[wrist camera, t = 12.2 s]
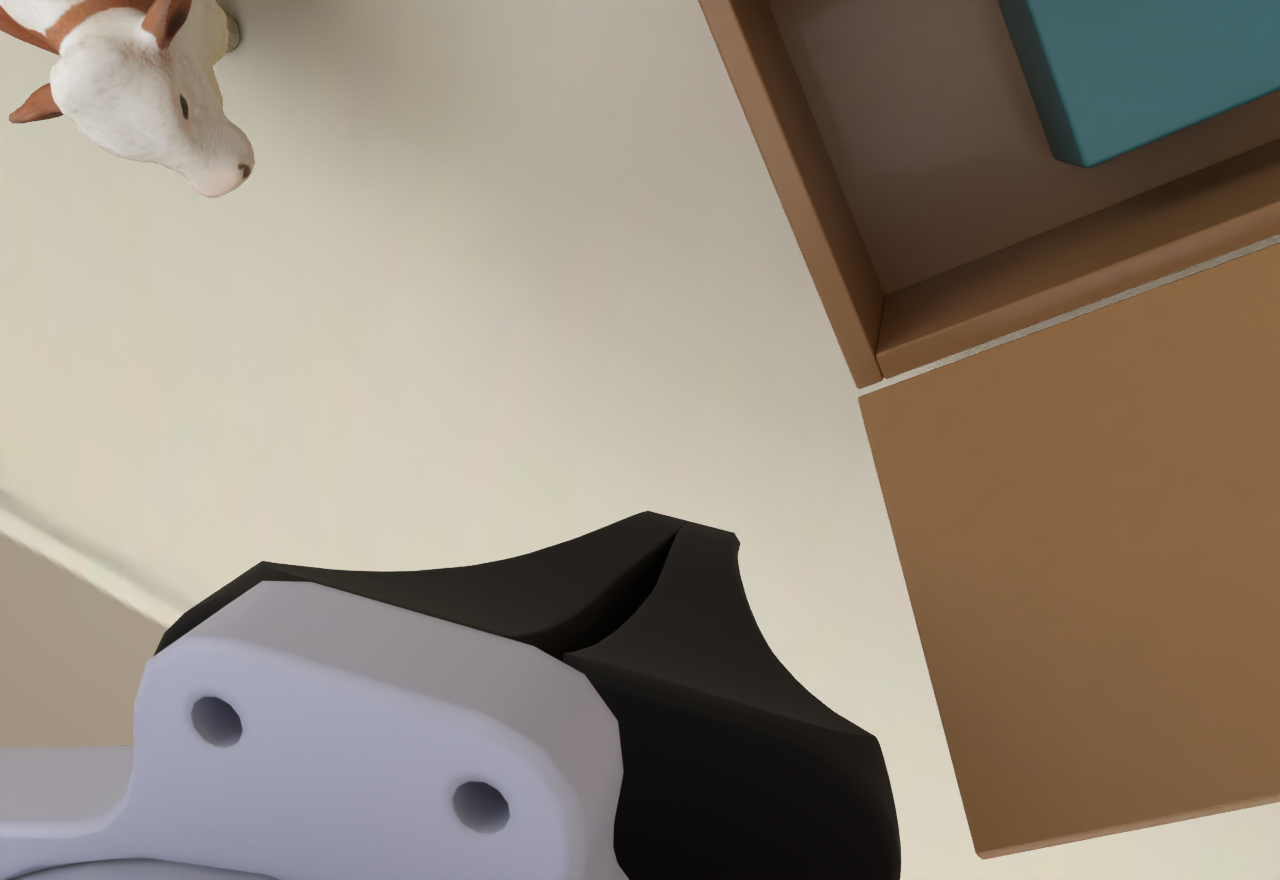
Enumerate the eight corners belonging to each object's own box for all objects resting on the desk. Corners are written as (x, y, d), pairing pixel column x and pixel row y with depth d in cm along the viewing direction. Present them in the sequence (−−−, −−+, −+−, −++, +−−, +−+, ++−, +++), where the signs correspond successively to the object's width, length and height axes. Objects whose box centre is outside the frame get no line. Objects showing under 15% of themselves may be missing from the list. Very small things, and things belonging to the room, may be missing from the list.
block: (1274, 68, 19) (1362, 56, 15) (1054, 161, 20) (1085, 170, 16) (1207, -148, 18) (1281, -216, 14) (984, -36, 20) (1000, -73, 16)
